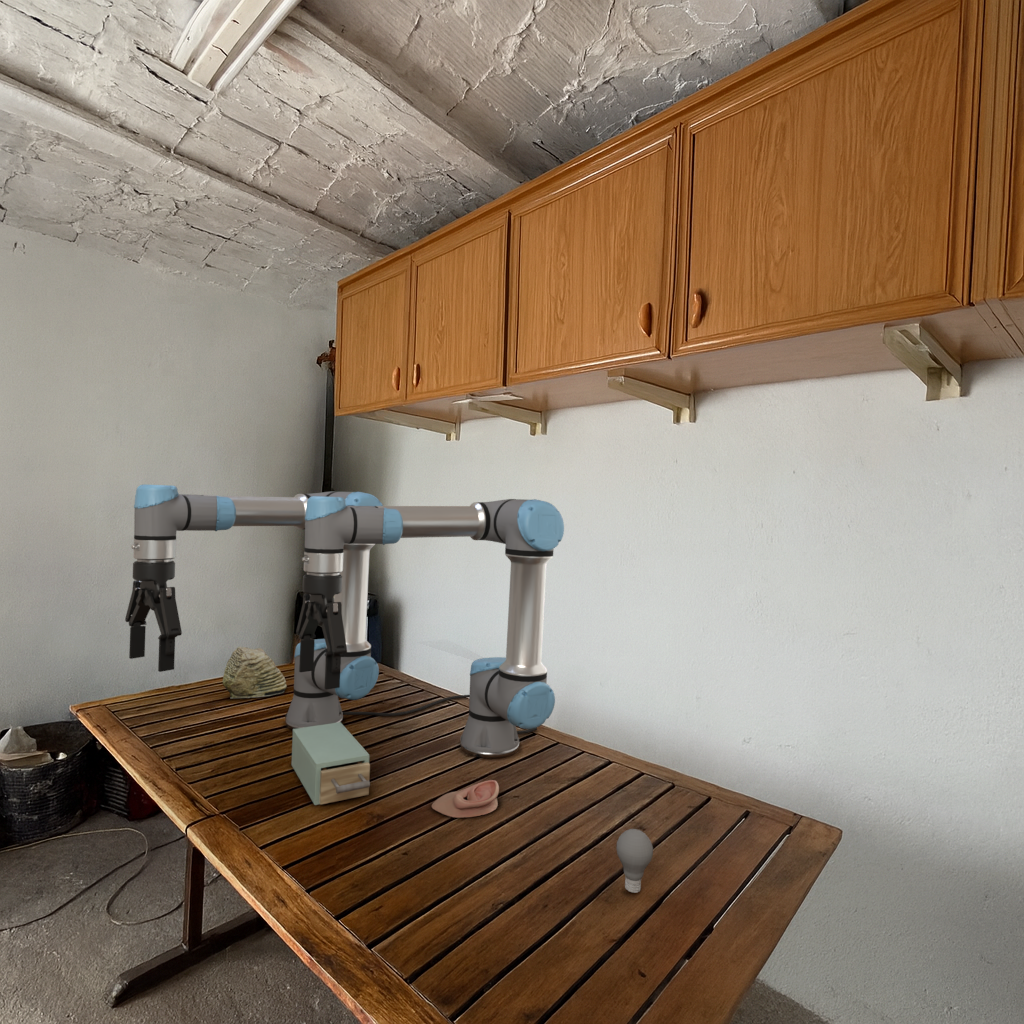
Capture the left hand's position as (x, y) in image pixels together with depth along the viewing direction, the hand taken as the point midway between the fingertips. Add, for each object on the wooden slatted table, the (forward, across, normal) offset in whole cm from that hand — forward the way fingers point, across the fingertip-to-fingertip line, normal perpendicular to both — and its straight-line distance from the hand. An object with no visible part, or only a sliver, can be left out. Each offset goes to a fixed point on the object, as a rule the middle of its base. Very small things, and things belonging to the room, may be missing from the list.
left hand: (151, 663), depth 129 cm
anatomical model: (+28, +50, +42) cm, 71 cm away
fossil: (+28, -46, +50) cm, 74 cm away
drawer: (+27, +24, +28) cm, 46 cm away
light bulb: (+28, +90, +39) cm, 102 cm away
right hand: (+1, +30, +19) cm, 35 cm away
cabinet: (+28, +19, +30) cm, 45 cm away
